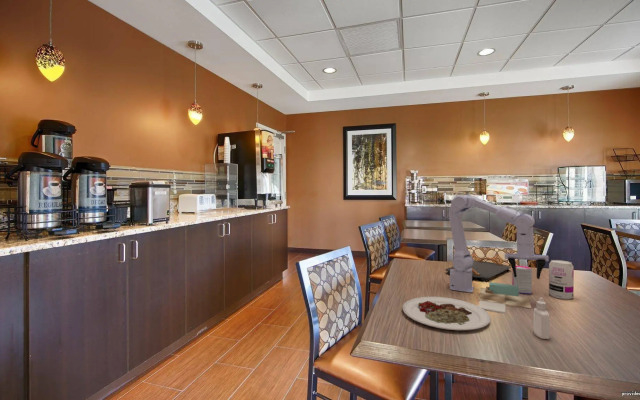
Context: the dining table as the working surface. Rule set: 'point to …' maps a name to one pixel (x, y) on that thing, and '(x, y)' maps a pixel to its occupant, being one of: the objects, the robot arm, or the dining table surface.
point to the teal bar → (504, 289)
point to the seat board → (503, 299)
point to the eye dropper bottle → (541, 320)
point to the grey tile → (492, 306)
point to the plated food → (446, 313)
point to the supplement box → (523, 279)
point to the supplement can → (561, 279)
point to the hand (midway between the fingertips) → (526, 277)
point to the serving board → (485, 268)
